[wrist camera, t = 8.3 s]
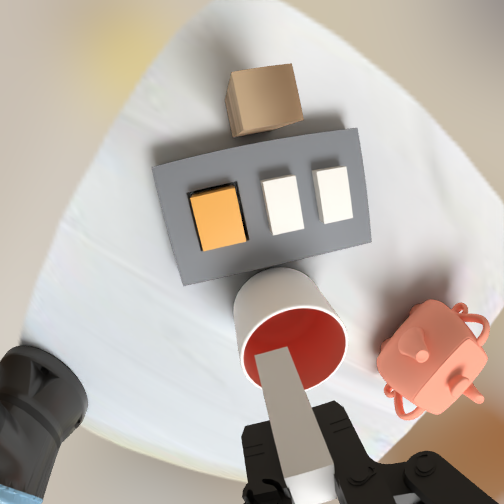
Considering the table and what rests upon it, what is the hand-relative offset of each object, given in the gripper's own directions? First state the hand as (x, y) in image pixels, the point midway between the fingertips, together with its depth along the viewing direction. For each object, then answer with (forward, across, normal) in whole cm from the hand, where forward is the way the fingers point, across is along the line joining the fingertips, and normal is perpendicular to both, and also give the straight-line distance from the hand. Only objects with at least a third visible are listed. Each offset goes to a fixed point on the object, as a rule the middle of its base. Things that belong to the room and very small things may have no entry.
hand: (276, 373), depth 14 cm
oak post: (+21, +4, +13) cm, 25 cm away
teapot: (+21, +21, -20) cm, 36 cm away
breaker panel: (+21, +4, +4) cm, 22 cm away
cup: (+22, +2, -8) cm, 23 cm away
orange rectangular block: (+20, -1, +4) cm, 21 cm away
